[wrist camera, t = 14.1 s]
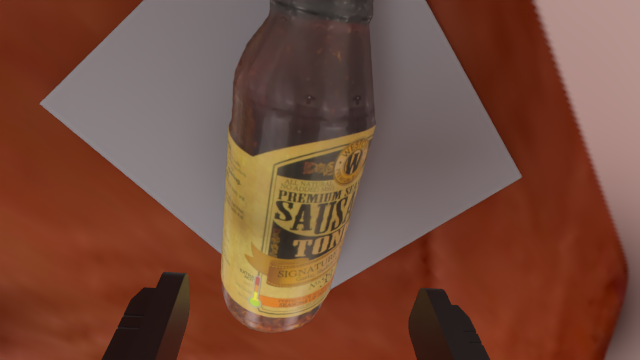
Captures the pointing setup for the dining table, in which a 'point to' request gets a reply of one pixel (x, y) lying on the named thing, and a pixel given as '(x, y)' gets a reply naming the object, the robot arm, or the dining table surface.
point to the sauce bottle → (295, 158)
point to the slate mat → (216, 113)
